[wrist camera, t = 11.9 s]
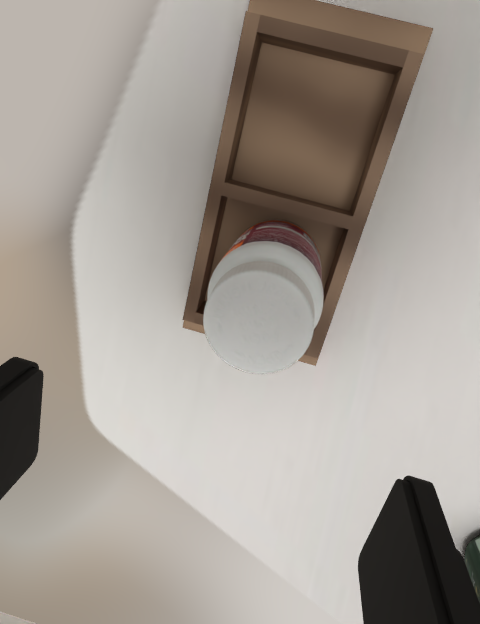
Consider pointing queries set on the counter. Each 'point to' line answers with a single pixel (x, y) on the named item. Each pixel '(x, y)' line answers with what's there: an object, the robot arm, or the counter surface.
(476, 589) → the coffee jar
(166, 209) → the counter surface
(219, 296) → the pill bottle
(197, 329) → the caddy
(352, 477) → the counter surface
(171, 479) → the counter surface
